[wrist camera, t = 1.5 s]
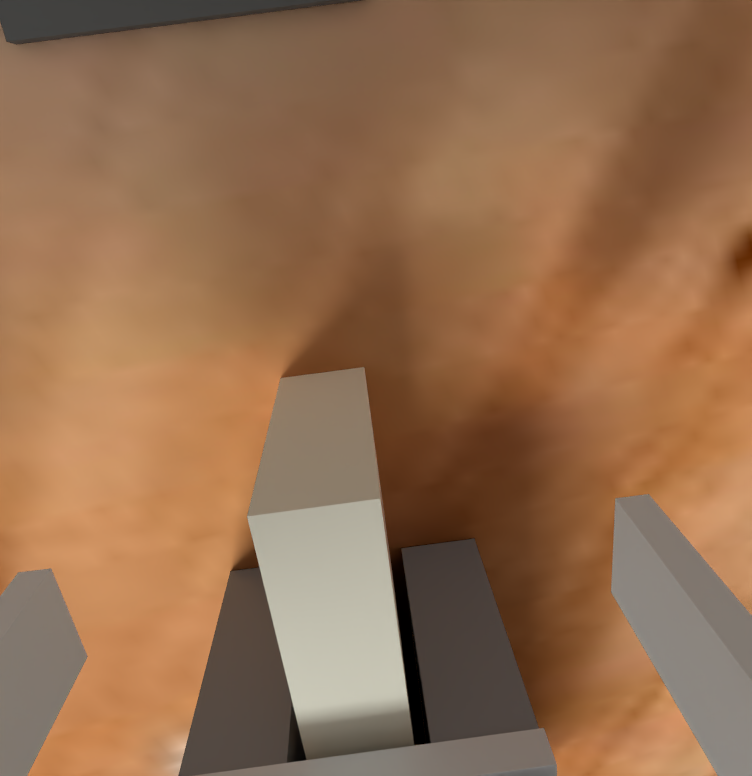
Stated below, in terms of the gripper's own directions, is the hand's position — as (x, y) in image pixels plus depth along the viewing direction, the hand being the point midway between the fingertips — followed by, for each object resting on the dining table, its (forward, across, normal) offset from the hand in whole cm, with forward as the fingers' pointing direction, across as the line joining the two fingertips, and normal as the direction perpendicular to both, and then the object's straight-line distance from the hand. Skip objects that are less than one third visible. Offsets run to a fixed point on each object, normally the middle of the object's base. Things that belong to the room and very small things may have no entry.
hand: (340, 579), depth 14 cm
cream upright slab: (+9, 0, -4) cm, 10 cm away
